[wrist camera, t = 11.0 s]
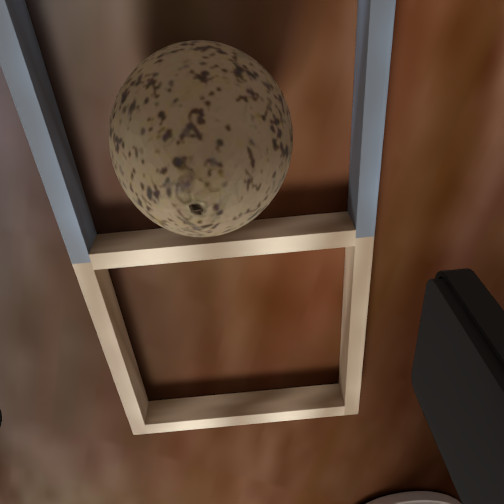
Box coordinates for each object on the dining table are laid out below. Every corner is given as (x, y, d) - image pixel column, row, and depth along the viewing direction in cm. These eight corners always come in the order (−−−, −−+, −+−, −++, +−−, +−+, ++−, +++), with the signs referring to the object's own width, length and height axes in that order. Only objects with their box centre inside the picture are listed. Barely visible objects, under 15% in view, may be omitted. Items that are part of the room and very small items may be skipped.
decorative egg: (198, 199, 25) (188, 329, 17) (96, 93, 22) (21, 192, 13) (308, 117, 23) (358, 220, 15) (214, -16, 19) (210, 23, 11)
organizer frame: (390, -122, 18) (407, -128, 16) (351, 391, 35) (358, 413, 33) (-29, -86, 18) (-55, -88, 16) (137, 411, 35) (133, 434, 33)
